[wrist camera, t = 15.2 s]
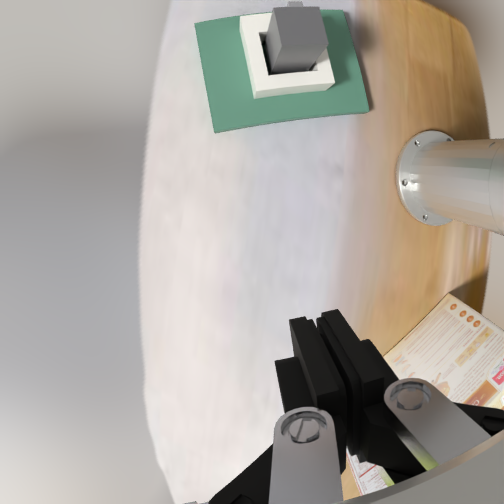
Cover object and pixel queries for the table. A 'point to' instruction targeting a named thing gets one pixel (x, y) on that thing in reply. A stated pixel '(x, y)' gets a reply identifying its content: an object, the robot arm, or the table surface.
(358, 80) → the board
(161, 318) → the table surface
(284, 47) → the plug
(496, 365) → the coffeecake box
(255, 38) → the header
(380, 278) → the table surface
